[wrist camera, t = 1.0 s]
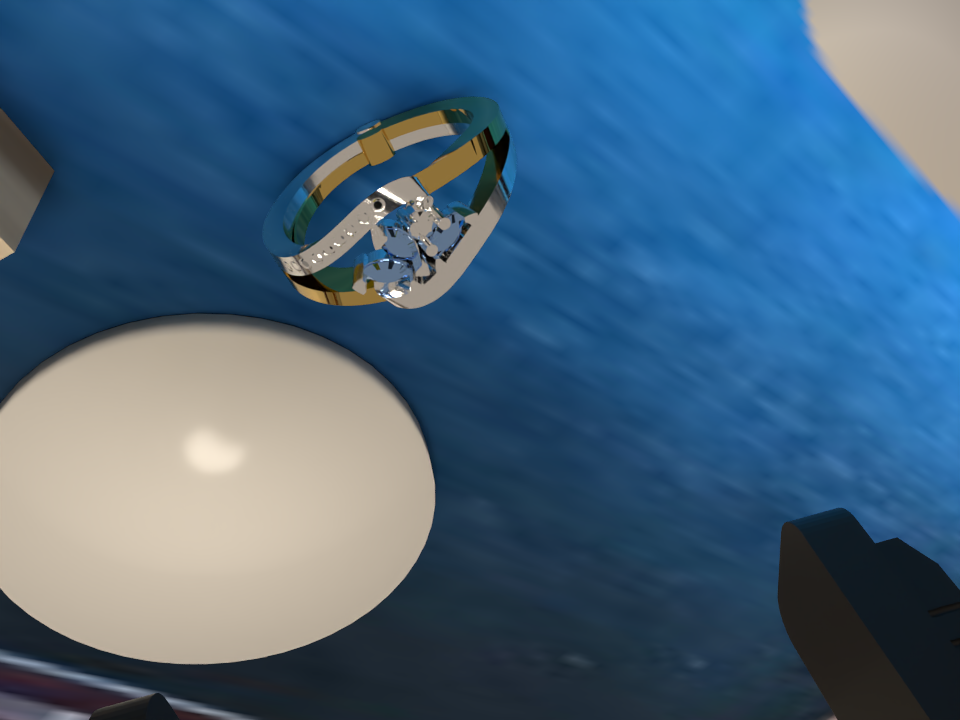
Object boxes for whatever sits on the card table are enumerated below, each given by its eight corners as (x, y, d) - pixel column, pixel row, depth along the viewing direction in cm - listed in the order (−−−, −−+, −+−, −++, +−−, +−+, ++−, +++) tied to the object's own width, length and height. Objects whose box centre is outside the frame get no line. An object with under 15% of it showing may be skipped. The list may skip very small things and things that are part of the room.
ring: (459, 34, 25) (527, 135, 18) (499, 133, 27) (573, 256, 20) (239, 138, 25) (230, 272, 19) (293, 228, 27) (302, 378, 21)
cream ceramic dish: (373, 259, 28) (377, 278, 27) (465, 578, 38) (470, 599, 37) (-126, 387, 27) (-140, 411, 26) (96, 680, 37) (91, 705, 36)
